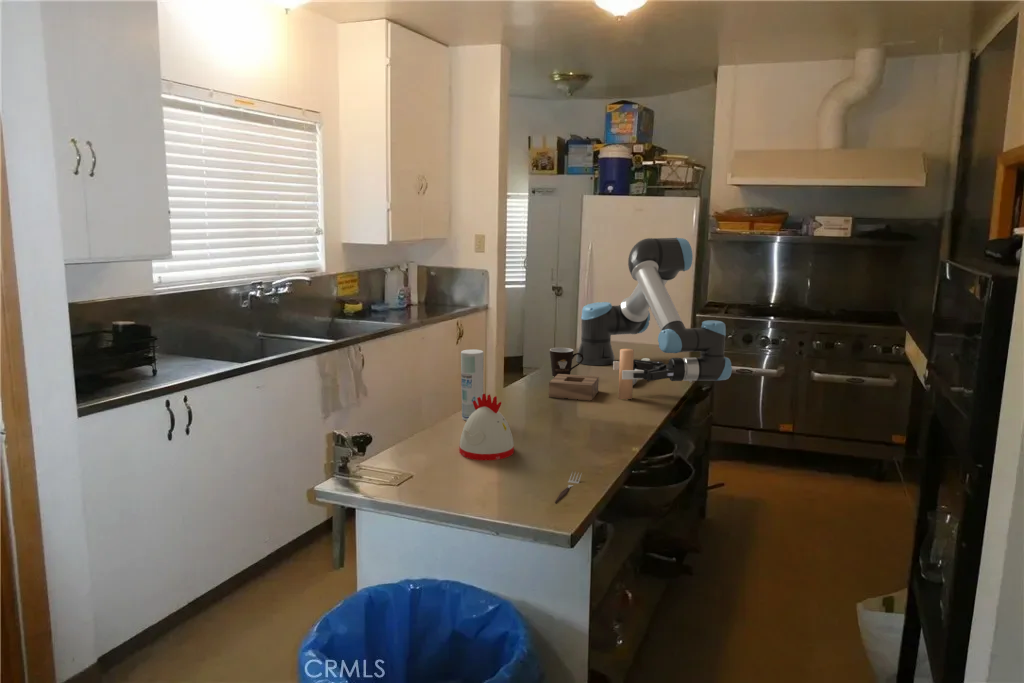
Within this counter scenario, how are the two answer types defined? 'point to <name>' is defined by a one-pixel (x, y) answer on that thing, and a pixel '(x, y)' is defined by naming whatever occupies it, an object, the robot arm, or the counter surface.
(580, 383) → the socket block
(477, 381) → the spray can
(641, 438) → the counter surface
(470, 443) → the kitchen timer
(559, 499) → the fork
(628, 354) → the peg
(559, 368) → the coffee mug
